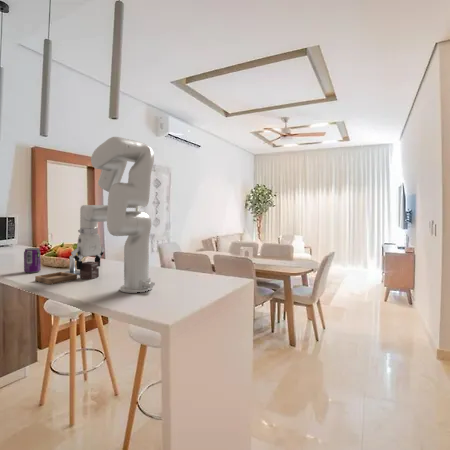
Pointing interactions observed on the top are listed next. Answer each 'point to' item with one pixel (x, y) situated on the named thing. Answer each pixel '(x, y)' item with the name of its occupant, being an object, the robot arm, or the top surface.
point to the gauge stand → (72, 267)
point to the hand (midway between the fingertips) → (88, 267)
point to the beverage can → (32, 260)
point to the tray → (56, 278)
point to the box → (89, 270)
